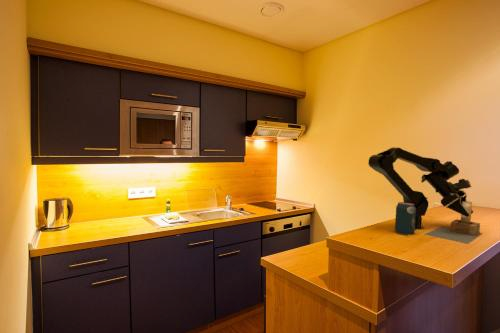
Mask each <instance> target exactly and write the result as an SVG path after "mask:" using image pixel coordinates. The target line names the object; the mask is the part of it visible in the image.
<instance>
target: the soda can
mask: <svg viewBox="0 0 500 333" xmlns="http://www.w3.org/2000/svg"><path fill="white" fill-rule="evenodd" d="M415 216H416V208H415V206H414V204H413V203H407V202H404V201H399V202H397V205H396V206H395V218H394V220H395V221H394V222H395V223H394V230H395V232H396V233H397V234H399V235H403V236H409V235H413V234H414V233H415V231H416V229H415Z"/></svg>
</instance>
